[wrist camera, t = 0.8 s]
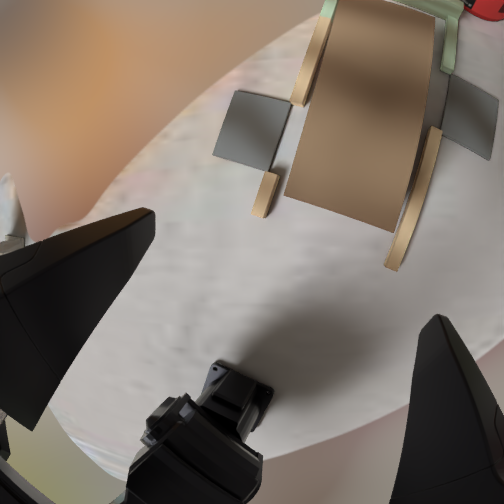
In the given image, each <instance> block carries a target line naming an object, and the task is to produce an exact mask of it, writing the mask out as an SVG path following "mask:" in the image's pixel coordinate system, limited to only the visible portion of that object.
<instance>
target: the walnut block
mask: <svg viewBox="0 0 504 504" xmlns="http://www.w3.org/2000/svg"><path fill="white" fill-rule="evenodd" d="M434 30H435V17H432V16H429V15H427V14H424V13H421V12H419V11H416V10H413V9H410V8H407V7H404V6H401V5H397V4H394V3H391V2H387V1H384V0H339V1H338V5H337V9H336V13H335V16H334V20H333V24H332V27H331V31H330V35H329V38H328V42H327V46H326V49H325V53H324V57H323V60H322V64H321V67H320V71H319V74H318V78H317V82H316V85H315V89H314V92H313V96H312V99H311V103H310V106H309V110H308V113H307V117H306V120H305V124H304V127H303V131H302V134H301V138H300V141H299V144H298V148H297V151H296V155H295V158H294V162H293V165H292V168H291V172H290V175H289V179H288V182H287V185H286V189H285V192H284V196H287V197H290V198H293V199H296V200H300V201H303V202H306V203H309V204H312V205H315V206H318V207H321V208H324V209H327V210H330V211H333V212H336V213H339V214H342V215H345V216H348V217H351V218H353V219H356V220H359V221H362V222H365V223H367V224H370V225H373V226H376V227H378V228H381V229H384V230H386V231H389V232H392V233H394V231H395V228H396V224H397V221H398V218H399V215H400V212H401V208H402V205H403V202H404V198H405V195H406V191H407V187H408V184H409V180H410V176H411V172H412V168H413V164H414V160H415V156H416V152H417V147H418V143H419V138H420V133H421V128H422V123H423V118H424V113H425V107H426V101H427V95H428V88H429V81H430V73H431V65H432V55H433V44H434Z"/></svg>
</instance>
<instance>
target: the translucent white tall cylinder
mask: <svg viewBox="0 0 504 504" xmlns="http://www.w3.org/2000/svg"><path fill="white" fill-rule="evenodd" d="M23 247H24V238H19V237H14V236H9V235H5V241H2V242H1V243H0V255H3V254H6V253H9V252H12V251H15V250H18V249H20V248H23Z"/></svg>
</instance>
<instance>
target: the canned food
mask: <svg viewBox="0 0 504 504" xmlns="http://www.w3.org/2000/svg"><path fill="white" fill-rule="evenodd" d="M460 1H462V2H464V9H465V10H466V11H468V12H469V13H471V14H473V15H475V16H477V17H479V18H481V19H484V20H487V21H499V20H501V19H504V0H460Z"/></svg>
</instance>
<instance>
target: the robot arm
mask: <svg viewBox="0 0 504 504" xmlns="http://www.w3.org/2000/svg"><path fill="white" fill-rule="evenodd" d="M154 237H155V212H154V211H153V210H150V209H147V208H144V207H142V208H138V209H135V210H131V211H128V212H125V213H122V214H118V215H115V216H112V217H109V218H106V219H102V220H99V221H96V222H93V223H90V224H87V225H84V226H81V227H78V228H75V229H73V230H70V231H67V232H64V233H61V234H58V235H56V236H53V237H50V238H47V239H45V240H43V241H39V242H36V243H34V244H31V245H29V246H26V247H23V248H20V249H18V250H15V251H12V252H9V253H6V254H3V255H0V504H55V503H54V502H53V501H51V500H50V499H49V498H47V497H46V496H45V495H44V494H42V493H41V492H40V491H39V490H37V489H36V488H35V487H34V486H32V485H31V484H30V483H29V482H28V481H27V480H25V479H24V478H23V477H22V476H21V475H20V474H19V473H18V472H17V471H15V470H14V469H13V468H12V467H11V466H10V465H9V464H8V463H7V462H6V461H7V459H8V458H9V456H10V448H9V442H8V437H7V430H6V424H5V418H6V417H7V415H9V416H10V417H12V418H13V419H14V420H16V421H17V422H18V423H20V424H21V425H23V426H24V427H26V428H27V429H29V430H30V431H33V430H34V428H35V426H36V424H37V423H38V421H39V419H40V417H41V415H42V413H43V412H44V410H45V408H46V406H47V405H48V403H49V401H50V399H51V398H52V396H53V394H54V392H55V391H56V389H57V387H58V386H59V384H60V382H61V380H62V379H63V377H64V375H65V374H66V372H67V370H68V369H69V367H70V366H71V364H72V362H73V361H74V359H75V358H76V356H77V355H78V353H79V351H80V350H81V348H82V347H83V345H84V344H85V342H86V341H87V339H88V338H89V336H90V335H91V333H92V332H93V330H94V329H95V327H96V326H97V324H98V323H99V321H100V320H101V318H102V317H103V316H104V314H105V313H106V311H107V310H108V308H109V307H110V306H111V304H112V303H113V301H114V300H115V299H116V297H117V296H118V294H119V293H120V292H121V290H122V289H123V288H124V286H125V285H126V283H127V282H128V281H129V279H130V278H131V276H132V275H133V273H134V271H135V270H136V268H137V266H138V265H139V263H140V261H141V259H142V258H143V256H144V254H145V253H146V251H147V250H148V248H149V246H150V245H151V243H152V241H153V240H154ZM215 367H216V368H217V369H215ZM267 391H268V392H270V393H267ZM273 395H274V390H273V388H271V387H269V386H266V385H264V384H262V383H259V382H257V381H255V380H253V379H251V378H249V377H246V376H244V375H242V374H240V373H238V372H236V371H234V370H231V369H229V368H227V367H225V366H223V365H221V364H219V363H213V364H212V365H211V367H210V370H209V373H208V376H207V379H206V381H205V384H204V387H203V390H202V393H201V395H200V396H199V398H198V399H197V400H196V401H195V402H194V401H193V400H192V399H191V397H190V396H189V395H188V394H187V393H185V394H184V395H183V396H182V397H180V396H179V397H178V398H172V397H168V398H167V399H166V400H165V401H164V402H163V403H162V404H161V405H160V406H159V407H158V408H157V409H156V410H155V411H154V412H153V413H152V414H151V415H150V416H149V417H148V418H147V419H146V430H145V431H144V434H143V436H142V437H141V439H140V441H141V442H142V443H143V444H145V446H144V447H143V448H142V449H141V450H140V451H139V452H138V453H137V454H136V456H135V458H134V460H133V462H132V464H131V466H130V468H129V473H128V479H127V484H126V490H125V491H124V492H123V493H122V494H121V495H119V496H118V497H117V498H116V499H115V500H113V501H112V502H111V503H110V504H247V503H248V502H249V501H250V500H251V499H252V498H253V497H254V496H255V494H256V493H257V492H258V490H259V488H260V485H261V481H262V464H263V455H261V454H260V453H259V452H255V451H254V450H253V449H251V448H250V447H249V446H247V445H246V444H245V441H246V439H247V437H248V435H249V433H250V432H253V431H254V430H255V428H256V426H257V425H258V423H259V421H260V419H261V417H262V416H263V414H264V412H265V410H266V408H267V406H268V404H269V402H270V401H271V399H272V397H273ZM389 504H504V415H503V413H502V411H501V409H500V407H499V405H498V404H497V402H496V399H495V397H494V395H493V393H492V392H491V390H490V388H489V386H488V384H487V382H486V380H485V378H484V376H483V375H482V373H481V371H480V369H479V368H478V366H477V364H476V362H475V361H474V359H473V357H472V355H471V354H470V352H469V350H468V349H467V347H466V346H465V344H464V342H463V341H462V339H461V337H460V336H459V334H458V333H457V331H456V330H455V328H454V326H453V325H452V323H451V322H450V320H449V319H448V318H447V317H446V316H443V315H440V314H436V315H434V316H433V317H432V318H431V319H430V321H429V322H428V323H427V324H426V325H425V326H424V327H423V328H422V330H421V332H420V334H419V338H418V346H417V352H416V359H415V365H414V371H413V377H412V385H411V394H410V403H409V411H408V418H407V425H406V431H405V437H404V443H403V448H402V453H401V458H400V463H399V467H398V472H397V476H396V480H395V484H394V488H393V491H392V495H391V499H390V502H389Z"/></svg>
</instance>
